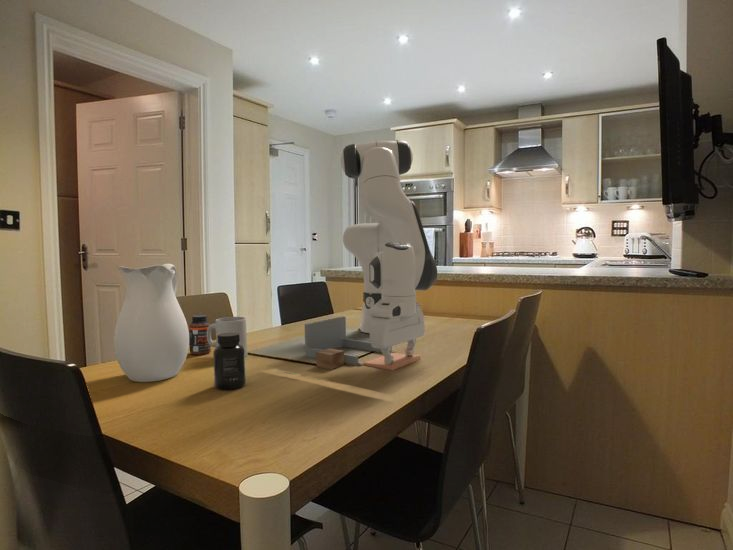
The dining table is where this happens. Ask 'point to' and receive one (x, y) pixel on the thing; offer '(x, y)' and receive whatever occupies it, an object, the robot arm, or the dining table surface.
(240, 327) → the mug
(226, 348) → the supplement bottle
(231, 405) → the dining table surface
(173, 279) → the pitcher
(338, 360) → the block
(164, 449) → the dining table surface
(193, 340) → the supplement bottle
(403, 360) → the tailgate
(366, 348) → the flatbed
